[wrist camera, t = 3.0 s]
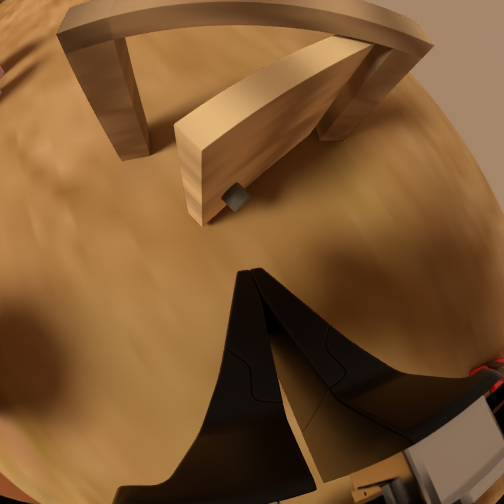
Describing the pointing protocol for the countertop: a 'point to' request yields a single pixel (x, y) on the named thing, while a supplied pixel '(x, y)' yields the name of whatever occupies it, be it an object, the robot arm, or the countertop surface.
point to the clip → (0, 74)
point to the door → (259, 122)
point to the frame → (231, 13)
